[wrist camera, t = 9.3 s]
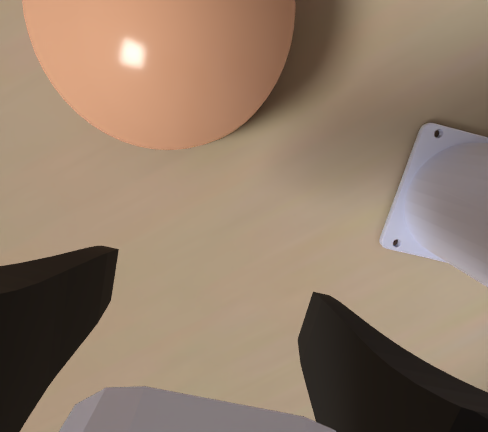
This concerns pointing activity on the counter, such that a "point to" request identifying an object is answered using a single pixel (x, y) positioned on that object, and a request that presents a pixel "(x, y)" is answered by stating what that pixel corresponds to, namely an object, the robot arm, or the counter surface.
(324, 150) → the counter surface
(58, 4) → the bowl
